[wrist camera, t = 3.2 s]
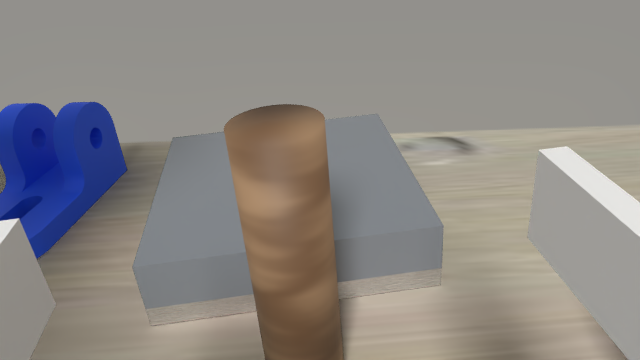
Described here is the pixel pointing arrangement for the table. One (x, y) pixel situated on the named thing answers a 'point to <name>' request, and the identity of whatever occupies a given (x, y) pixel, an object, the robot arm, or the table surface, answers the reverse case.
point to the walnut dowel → (287, 228)
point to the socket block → (227, 238)
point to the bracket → (55, 166)
